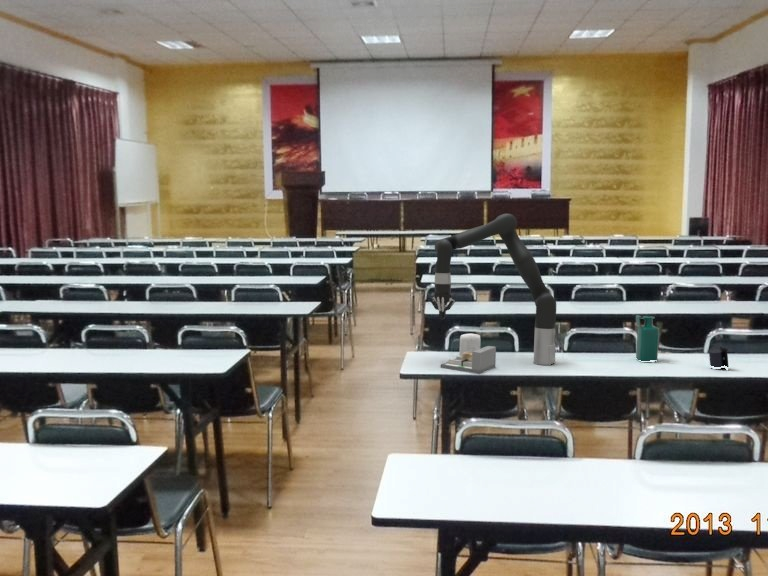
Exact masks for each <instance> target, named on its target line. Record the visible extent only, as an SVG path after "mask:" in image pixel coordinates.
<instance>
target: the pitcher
mask: <svg viewBox="0 0 768 576" xmlns="http://www.w3.org/2000/svg"><path fill="white" fill-rule="evenodd" d="M641 319H642V320H644V323H643V324H641ZM654 319H655V316H650V315H643V316H641V315H638V314H636V315H635V324H636V326H637V335H636V352H635V359H636V358H637V359H638V360H641V361H650V360H657V361H658V356H659V355H658V354H659V353H658V351H659V335H660V330H659V329H660V328H659V327H657V326H655V325H654V324H653V321H654ZM637 359H636V360H637ZM638 360H637V361H638Z"/></svg>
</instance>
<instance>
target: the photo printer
mask: <svg viewBox="0 0 768 576" xmlns="http://www.w3.org/2000/svg"><path fill="white" fill-rule="evenodd" d="M478 349H481V335H480V334H476V333H464V334H461V335H460V337H459V354H458V356H461V357H462V353H465V352H468V351H469V352H473V351H475V350H478Z"/></svg>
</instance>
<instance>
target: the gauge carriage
mask: <svg viewBox="0 0 768 576" xmlns="http://www.w3.org/2000/svg"><path fill="white" fill-rule="evenodd" d="M465 361H467V362H472V352H469V351H468V352H465V353H462V361H461V366H463V362H465Z"/></svg>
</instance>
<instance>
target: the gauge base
mask: <svg viewBox="0 0 768 576" xmlns="http://www.w3.org/2000/svg"><path fill="white" fill-rule="evenodd" d="M496 353H497V347H496V346H493V345H492V346H491V345H486V346H484V347H480V349H478V350H475V351H473V352H472V362H467V361H465V362H463V366H461V361H462V357H461V356H459V355H456V356H455V358H454V359H452V358H448V360H447V361H446V362H444V363H441V364H440V368H442V369H448V370H454V371H460V372H466V373H473V374H477V375H478V374H482V373H486V372H487V371H490V370H492V369H494V368H496V366H497V365H496V363H497V361H496V360H497V359H496V358H497V354H496Z"/></svg>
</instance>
